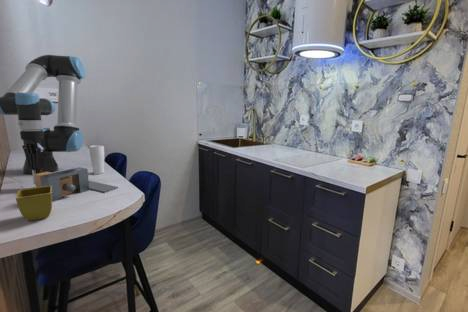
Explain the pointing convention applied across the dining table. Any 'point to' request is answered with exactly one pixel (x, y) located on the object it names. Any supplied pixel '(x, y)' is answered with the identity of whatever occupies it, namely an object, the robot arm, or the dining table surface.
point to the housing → (76, 174)
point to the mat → (100, 187)
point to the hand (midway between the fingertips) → (38, 183)
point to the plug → (64, 183)
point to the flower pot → (35, 202)
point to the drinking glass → (97, 158)
